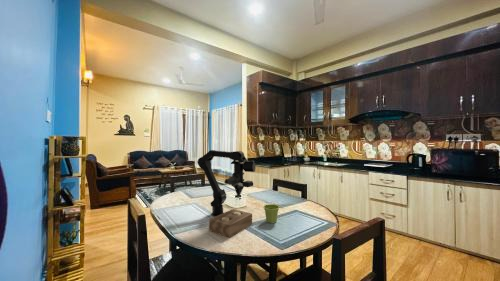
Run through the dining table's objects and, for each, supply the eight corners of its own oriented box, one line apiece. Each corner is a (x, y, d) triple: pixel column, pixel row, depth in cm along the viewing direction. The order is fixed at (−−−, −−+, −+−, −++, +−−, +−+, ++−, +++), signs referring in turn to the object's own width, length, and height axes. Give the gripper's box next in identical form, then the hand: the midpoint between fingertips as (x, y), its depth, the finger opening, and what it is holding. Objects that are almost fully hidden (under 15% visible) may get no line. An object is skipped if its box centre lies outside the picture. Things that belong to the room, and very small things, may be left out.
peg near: (220, 228, 107) (220, 219, 107) (225, 225, 110) (225, 216, 110) (225, 230, 105) (225, 220, 105) (230, 227, 108) (230, 218, 108)
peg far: (232, 222, 115) (232, 213, 115) (236, 220, 119) (236, 211, 119) (237, 223, 113) (237, 214, 113) (242, 221, 116) (242, 212, 116)
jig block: (209, 230, 108) (209, 219, 108) (233, 218, 124) (233, 208, 124) (229, 237, 100) (229, 225, 100) (252, 224, 116) (252, 213, 116)
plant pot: (266, 225, 115) (266, 209, 115) (261, 219, 124) (261, 204, 124) (281, 223, 117) (282, 208, 117) (275, 217, 126) (275, 203, 126)
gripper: (218, 171, 125) (218, 196, 125) (242, 174, 115) (242, 202, 115) (230, 169, 135) (230, 193, 135) (253, 171, 124) (253, 197, 124)
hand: (238, 196), depth 127 cm, fingers closed
